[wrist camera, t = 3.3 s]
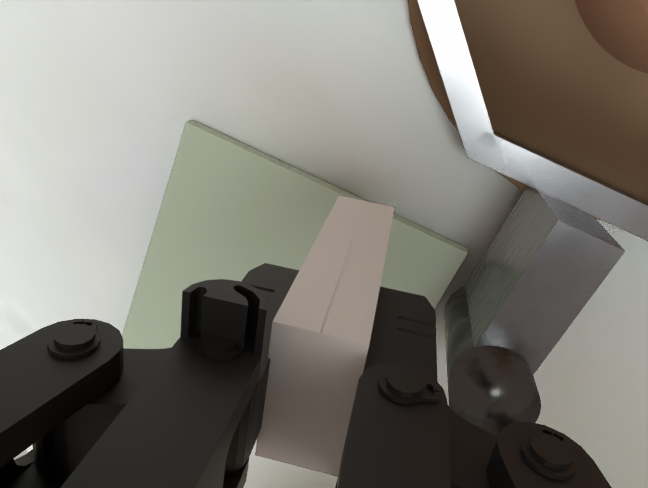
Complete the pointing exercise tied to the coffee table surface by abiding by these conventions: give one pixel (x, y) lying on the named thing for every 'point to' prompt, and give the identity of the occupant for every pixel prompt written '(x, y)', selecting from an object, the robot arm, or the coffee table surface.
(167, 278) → the mat
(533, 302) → the collar
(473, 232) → the coffee table surface
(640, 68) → the terracotta mug
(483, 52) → the base plate
